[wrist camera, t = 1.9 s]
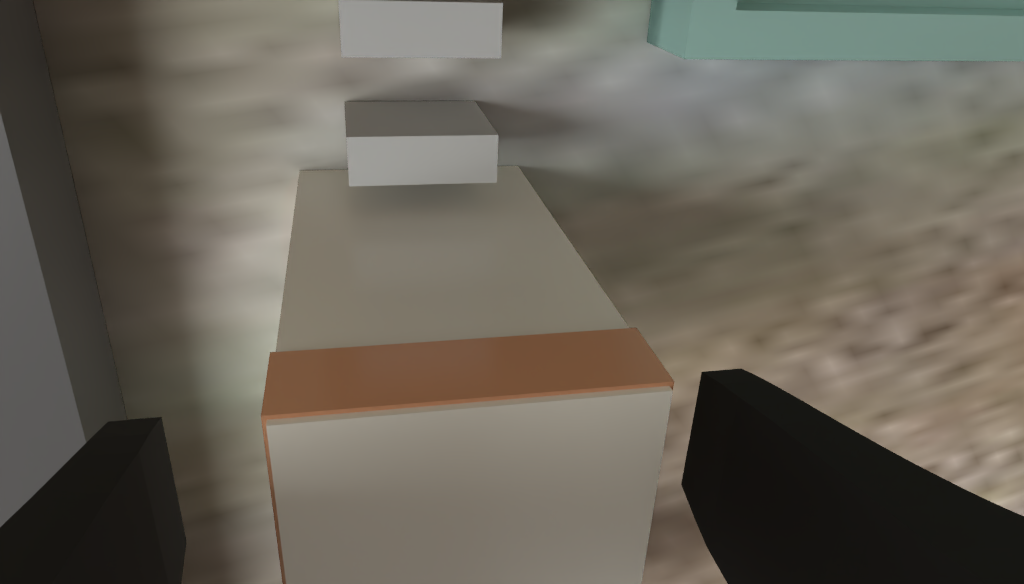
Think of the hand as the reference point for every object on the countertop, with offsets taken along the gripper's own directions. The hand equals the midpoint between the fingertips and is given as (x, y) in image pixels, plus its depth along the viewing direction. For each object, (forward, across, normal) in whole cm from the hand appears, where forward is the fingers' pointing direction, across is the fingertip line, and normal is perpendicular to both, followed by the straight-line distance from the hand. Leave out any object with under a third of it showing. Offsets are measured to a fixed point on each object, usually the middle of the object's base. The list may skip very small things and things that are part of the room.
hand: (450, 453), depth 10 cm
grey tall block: (+6, 0, 0) cm, 6 cm away
